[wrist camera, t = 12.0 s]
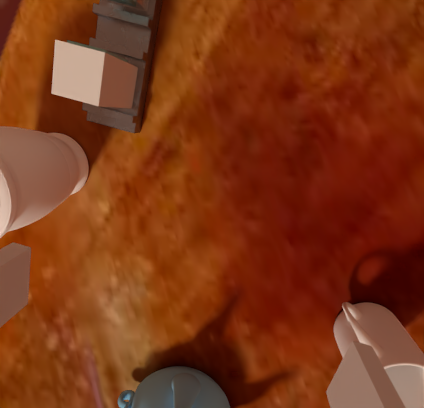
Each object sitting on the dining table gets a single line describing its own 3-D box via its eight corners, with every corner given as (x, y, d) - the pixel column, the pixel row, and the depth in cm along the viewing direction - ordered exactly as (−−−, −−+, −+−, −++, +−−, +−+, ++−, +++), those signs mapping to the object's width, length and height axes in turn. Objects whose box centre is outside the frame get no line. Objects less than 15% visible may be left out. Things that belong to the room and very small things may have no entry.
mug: (363, 270, 38) (406, 326, 28) (407, 334, 40) (462, 407, 30) (307, 300, 41) (327, 362, 31) (351, 359, 43) (384, 435, 33)
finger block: (100, 54, 32) (55, 35, 25) (138, 64, 32) (105, 48, 25) (95, 98, 34) (51, 93, 26) (131, 108, 34) (98, 106, 26)
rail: (117, -72, 30) (59, -157, 21) (172, -58, 30) (138, -138, 21) (94, 119, 37) (41, 121, 27) (140, 132, 36) (102, 138, 27)
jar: (75, 216, 41) (-16, 270, 27) (12, 172, 40) (-117, 204, 26) (111, 156, 38) (29, 180, 23) (43, 107, 37) (-84, 101, 23)
